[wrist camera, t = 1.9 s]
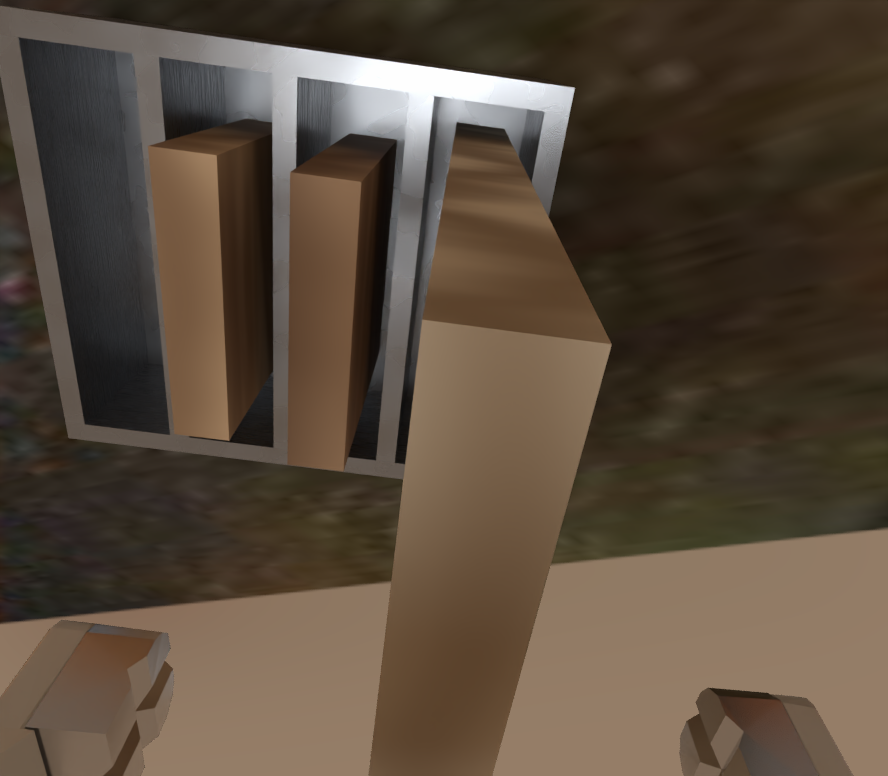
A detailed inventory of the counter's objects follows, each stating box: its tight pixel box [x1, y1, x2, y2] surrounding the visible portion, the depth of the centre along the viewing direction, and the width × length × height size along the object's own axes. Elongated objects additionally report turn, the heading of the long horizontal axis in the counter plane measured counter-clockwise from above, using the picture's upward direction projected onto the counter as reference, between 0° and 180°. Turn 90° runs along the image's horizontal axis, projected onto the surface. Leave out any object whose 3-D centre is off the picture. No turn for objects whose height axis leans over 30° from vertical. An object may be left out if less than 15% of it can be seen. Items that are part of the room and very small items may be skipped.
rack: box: [0, 5, 575, 479], centre depth 27 cm, size 18×16×8 cm
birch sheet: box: [369, 122, 612, 776], centre depth 19 cm, size 2×12×22 cm, turn 173°
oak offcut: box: [148, 119, 273, 441], centre depth 25 cm, size 2×10×9 cm, turn 173°
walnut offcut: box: [287, 133, 397, 471], centre depth 24 cm, size 2×10×10 cm, turn 173°
